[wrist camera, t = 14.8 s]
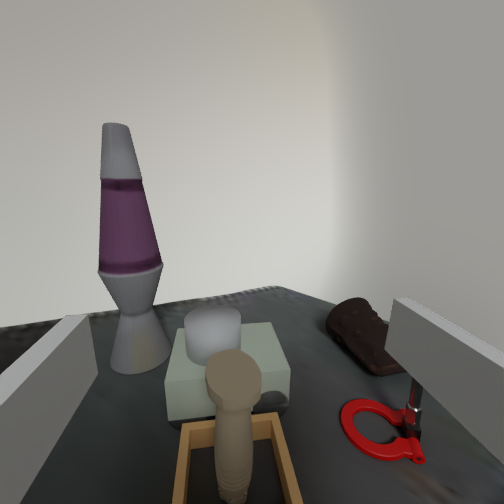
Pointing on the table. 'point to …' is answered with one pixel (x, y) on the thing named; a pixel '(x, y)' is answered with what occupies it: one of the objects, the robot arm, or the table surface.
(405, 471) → the table surface
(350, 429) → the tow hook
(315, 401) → the table surface
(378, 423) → the table surface
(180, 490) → the grey and tan pieces
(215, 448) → the handle
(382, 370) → the dark brown irregular lump
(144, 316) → the lamp
